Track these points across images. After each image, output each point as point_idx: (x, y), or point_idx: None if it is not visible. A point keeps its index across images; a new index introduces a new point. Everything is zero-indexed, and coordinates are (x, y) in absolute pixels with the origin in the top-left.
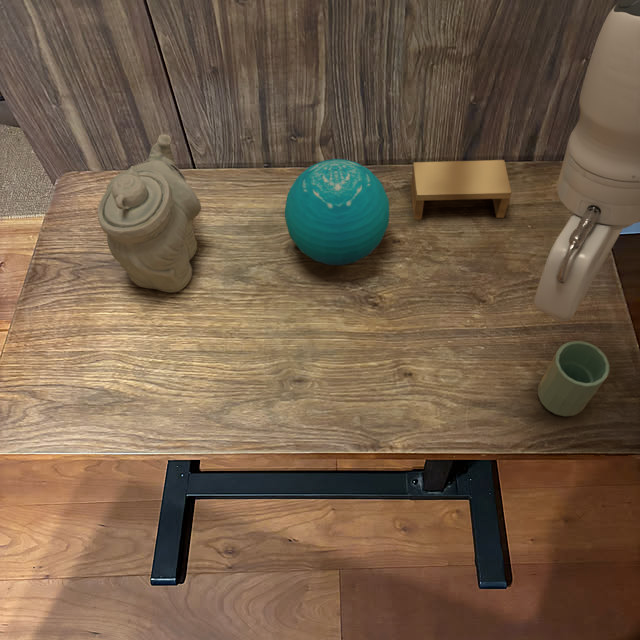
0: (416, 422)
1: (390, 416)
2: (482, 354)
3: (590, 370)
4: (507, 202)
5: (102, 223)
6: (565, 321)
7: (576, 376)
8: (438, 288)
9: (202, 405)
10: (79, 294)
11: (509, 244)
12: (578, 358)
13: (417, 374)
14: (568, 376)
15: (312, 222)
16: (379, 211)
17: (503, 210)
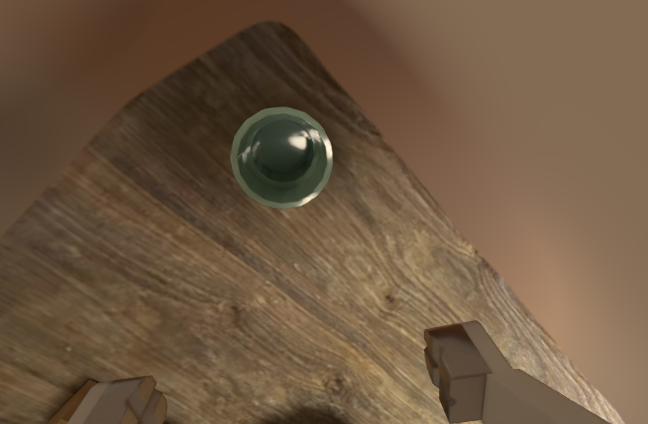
0: (435, 252)
1: (446, 276)
2: (304, 258)
3: (247, 138)
4: (69, 410)
5: None
6: (477, 322)
7: (254, 148)
8: (263, 354)
9: None
10: None
11: (123, 345)
12: (247, 167)
13: (382, 292)
14: (257, 157)
15: None
16: None
17: (84, 395)
